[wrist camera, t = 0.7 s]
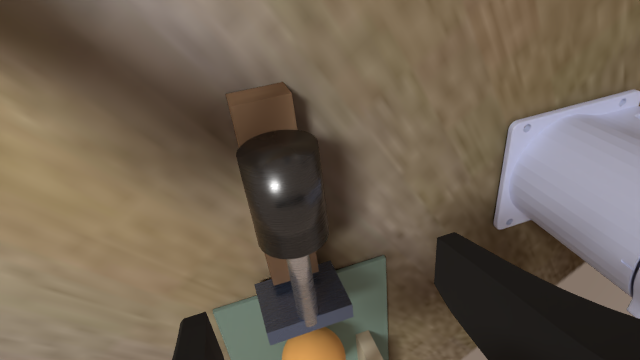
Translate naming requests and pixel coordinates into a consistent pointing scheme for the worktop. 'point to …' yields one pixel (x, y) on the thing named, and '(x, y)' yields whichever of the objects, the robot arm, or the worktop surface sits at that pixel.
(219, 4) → the worktop surface
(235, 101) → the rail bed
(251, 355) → the mat
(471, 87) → the worktop surface
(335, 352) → the ball
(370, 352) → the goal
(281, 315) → the dark grey round-headed part
